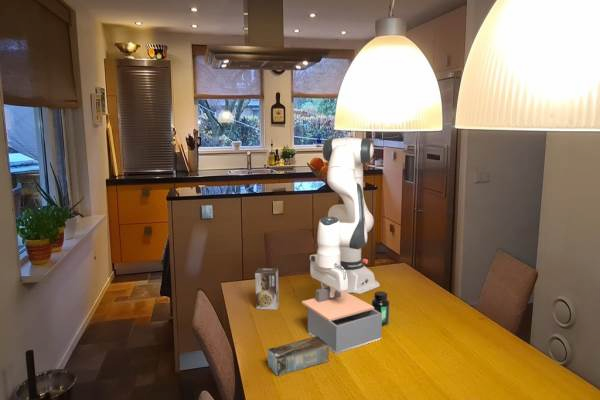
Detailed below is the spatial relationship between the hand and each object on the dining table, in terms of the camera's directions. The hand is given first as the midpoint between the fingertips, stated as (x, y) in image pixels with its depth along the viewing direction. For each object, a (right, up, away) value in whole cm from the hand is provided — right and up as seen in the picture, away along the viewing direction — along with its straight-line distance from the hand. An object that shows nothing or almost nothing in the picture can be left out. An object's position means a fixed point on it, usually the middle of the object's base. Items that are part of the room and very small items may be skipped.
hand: (328, 295), depth 170 cm
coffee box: (-25, -9, +19) cm, 33 cm away
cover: (+3, -3, -5) cm, 6 cm away
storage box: (+5, -14, -7) cm, 16 cm away
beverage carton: (-11, -17, -25) cm, 32 cm away
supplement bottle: (+21, -12, +5) cm, 24 cm away
